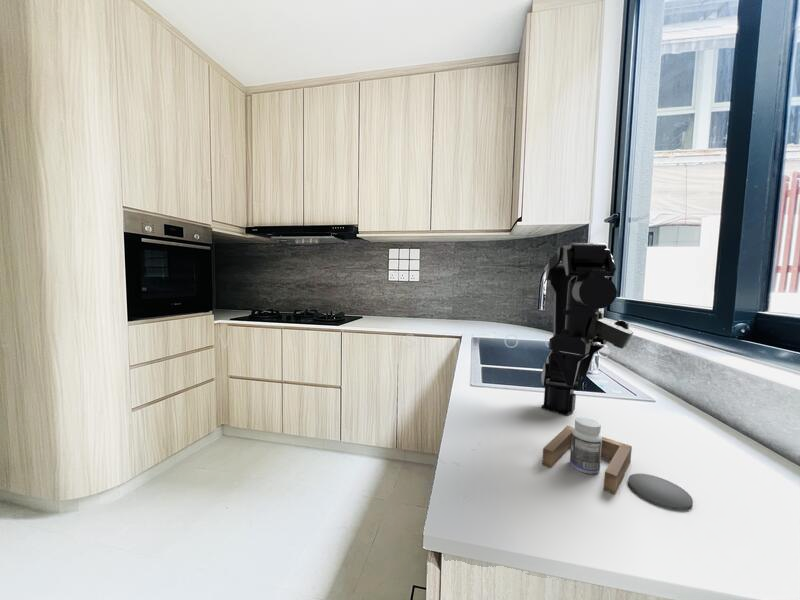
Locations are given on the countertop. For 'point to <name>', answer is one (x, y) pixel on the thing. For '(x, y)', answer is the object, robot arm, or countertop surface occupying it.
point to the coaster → (660, 491)
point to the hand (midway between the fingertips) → (577, 381)
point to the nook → (610, 449)
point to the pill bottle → (586, 445)
